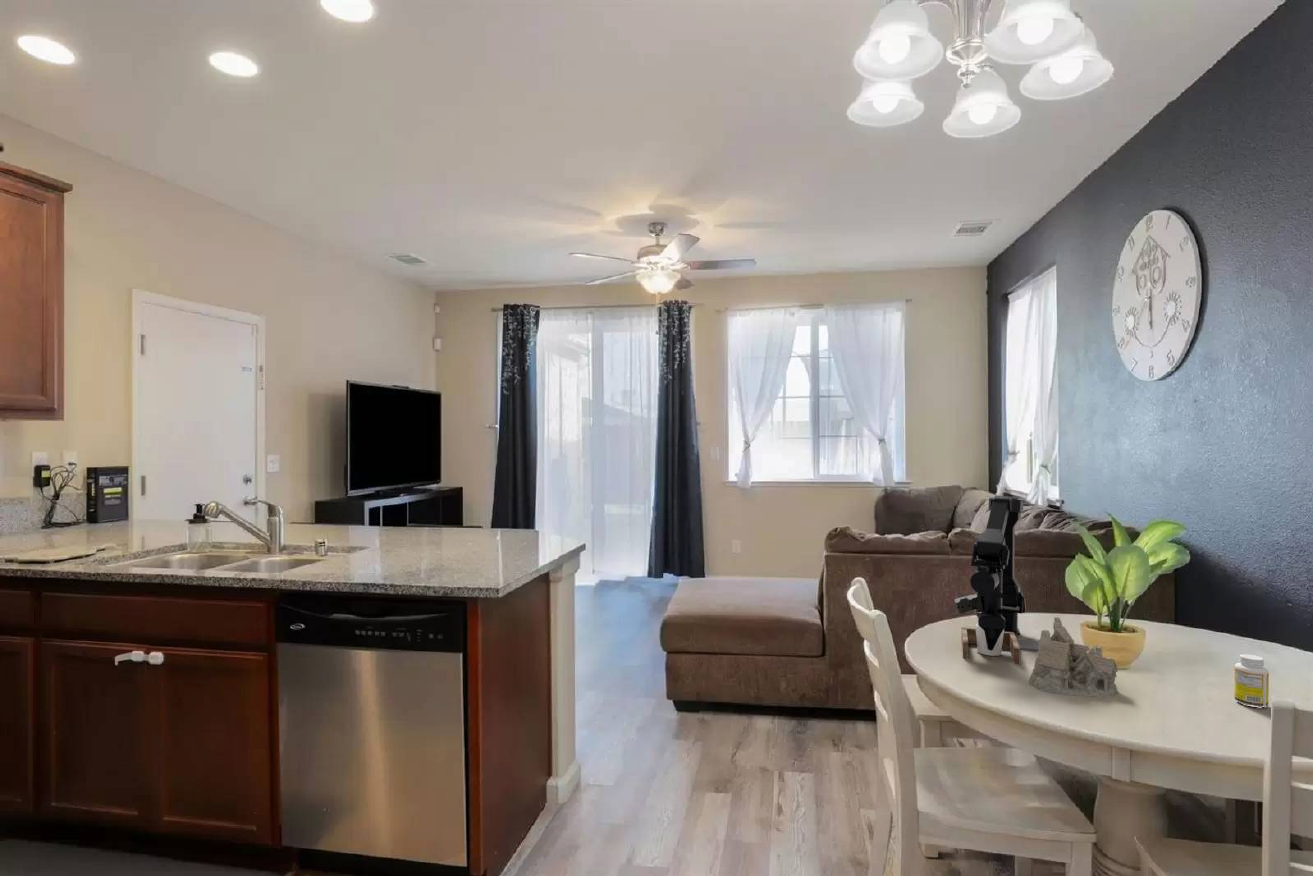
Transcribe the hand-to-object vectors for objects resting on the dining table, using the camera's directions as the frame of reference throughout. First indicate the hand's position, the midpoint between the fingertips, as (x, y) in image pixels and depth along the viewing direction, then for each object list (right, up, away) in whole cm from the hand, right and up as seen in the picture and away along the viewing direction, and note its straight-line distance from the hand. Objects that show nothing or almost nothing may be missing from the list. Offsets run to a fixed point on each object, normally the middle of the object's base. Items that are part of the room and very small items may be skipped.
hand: (989, 646), depth 183 cm
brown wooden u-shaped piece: (0, -2, 0) cm, 2 cm away
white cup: (0, -2, 0) cm, 2 cm away
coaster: (+15, -2, +6) cm, 16 cm away
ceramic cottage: (+7, -2, -24) cm, 25 cm away
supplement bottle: (+40, -3, -34) cm, 52 cm away
